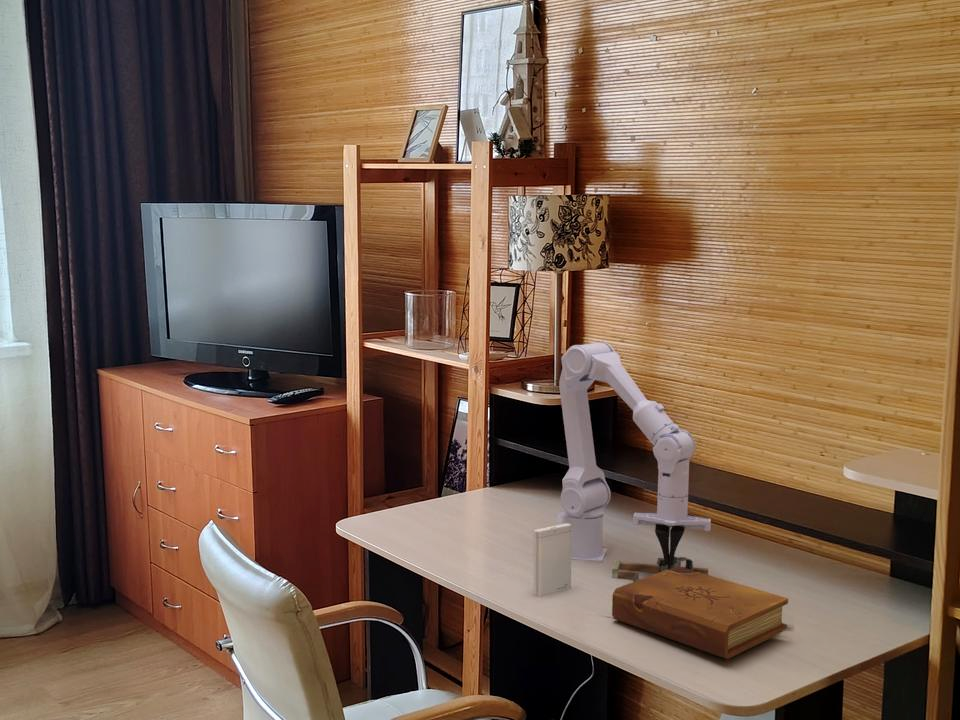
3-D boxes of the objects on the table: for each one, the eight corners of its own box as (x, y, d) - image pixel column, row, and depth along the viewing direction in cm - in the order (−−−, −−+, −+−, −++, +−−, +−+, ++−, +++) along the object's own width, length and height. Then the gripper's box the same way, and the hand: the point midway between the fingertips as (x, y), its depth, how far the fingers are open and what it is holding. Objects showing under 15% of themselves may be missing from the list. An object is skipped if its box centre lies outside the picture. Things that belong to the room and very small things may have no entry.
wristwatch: (665, 581, 205) (665, 557, 204) (688, 577, 207) (688, 553, 206) (673, 587, 202) (674, 562, 201) (696, 583, 204) (697, 558, 203)
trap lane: (609, 586, 200) (609, 576, 200) (618, 562, 215) (618, 552, 214) (706, 594, 196) (706, 583, 196) (708, 568, 210) (709, 558, 210)
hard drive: (572, 589, 199) (572, 524, 197) (537, 597, 194) (538, 532, 193) (566, 586, 200) (567, 522, 199) (532, 595, 195) (532, 530, 194)
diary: (611, 621, 184) (612, 589, 183) (676, 595, 196) (676, 565, 196) (724, 660, 167) (726, 625, 166) (787, 629, 180) (788, 597, 179)
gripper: (632, 496, 200) (630, 566, 201) (710, 502, 196) (707, 573, 198) (636, 488, 207) (634, 555, 208) (712, 493, 203) (709, 562, 204)
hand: (670, 563), depth 203 cm, fingers closed, pressing on wristwatch
